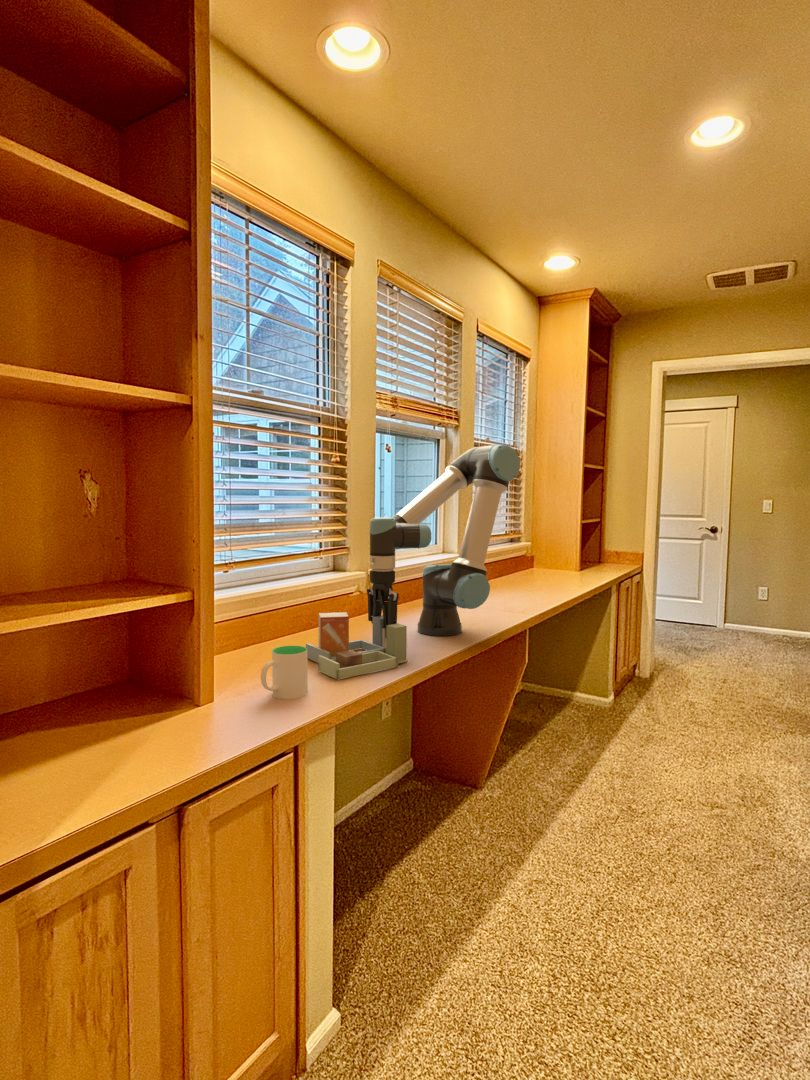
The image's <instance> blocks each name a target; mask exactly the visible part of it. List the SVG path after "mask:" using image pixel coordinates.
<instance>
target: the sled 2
mask: <svg viewBox="0 0 810 1080" xmlns="http://www.w3.org/2000/svg"><path fill="white" fill-rule="evenodd" d="M407 628H408V626H407V625H404V624H401V623H397V624H392V625H386V653H383V652H380V651H373V652H368V653H362V664H360V665H355V666H350V667H345V668H340V663H337V662H336V658H335V659H328V658H326V657H324V656H322V655H319V656H318V663H317V666H318V667H317V669H318V672H321V673H323V674H324V675H326V676H329V677H331V678H332V679H335V680H341V679H346V678H350V677H357V676H360V675H365V674H370V673H374V672H379V671H385V670H389V669H395V668H398V667H399V664H403V663H407V662H409V661H408V659H407V640H408V639H407V637H408V636H407V634H408V633H407Z"/></svg>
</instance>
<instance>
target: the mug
mask: <svg viewBox="0 0 810 1080" xmlns="http://www.w3.org/2000/svg"><path fill="white" fill-rule="evenodd" d="M271 650H272V651H271V655H272V656H271V658H272V659H271V660H268V661H267V662H265V663H264V665H263V666H262V668H261V671H260V682H261V685H262V687H263V688H264V689H265V690H267V691H271V692H272V697H274V698H277V699H280V700H294V699H295V700H296V699H299V698H303V697H305V696H306V695H307V694H308V692H309V691H308V688H309V687H308V678H309V677H308V658H307V648H306V646H302V645H284V646H283V645H282V646H278V647H274V648H272V649H271ZM270 667H272V668H271V669H272V673H271V674H272V675H271V676H272V685H271V686H269V685H268V683H267V674H268V670H269V668H270Z"/></svg>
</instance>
